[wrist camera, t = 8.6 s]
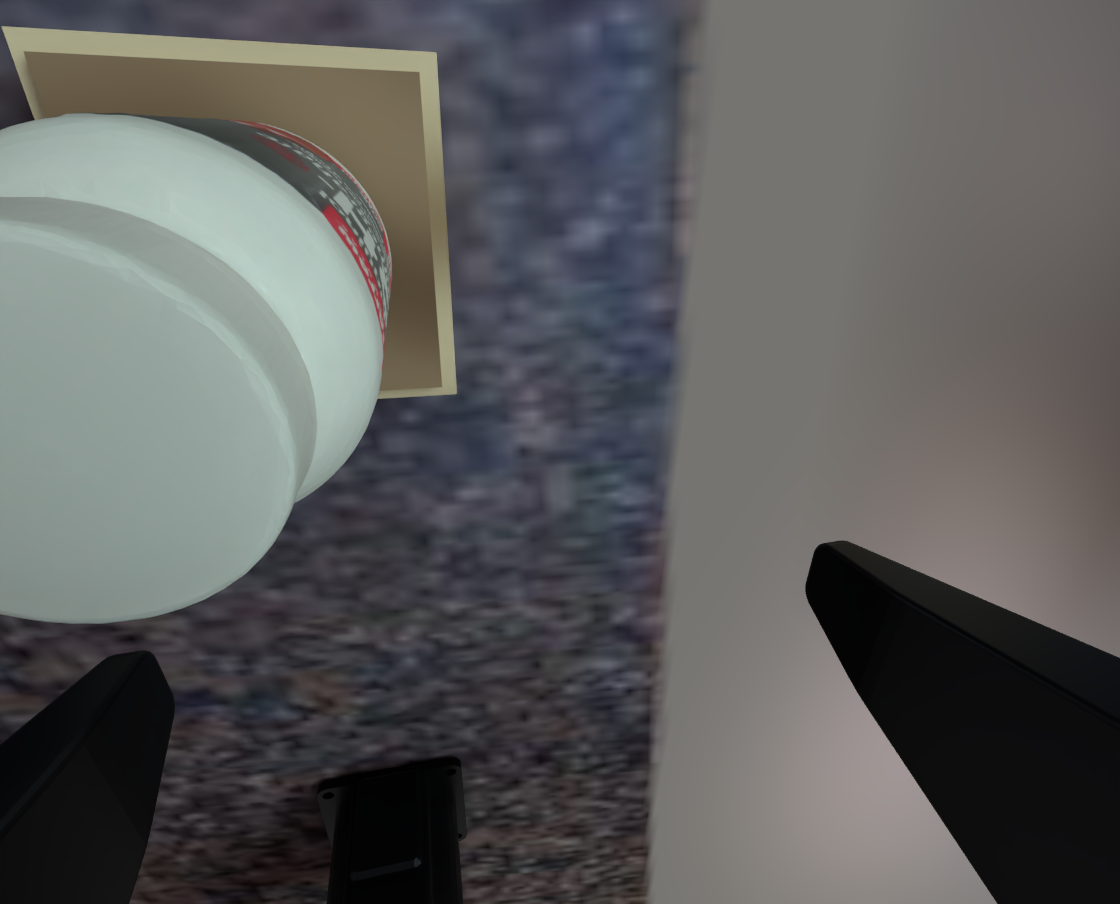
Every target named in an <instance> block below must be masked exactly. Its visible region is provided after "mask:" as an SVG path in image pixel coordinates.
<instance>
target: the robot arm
mask: <svg viewBox="0 0 1120 904" xmlns="http://www.w3.org/2000/svg"><path fill="white" fill-rule="evenodd" d="M805 587H806V588H805V589H806V596H807V599H808V602H809V604H810V606H811V608H812V610H813V612H814V613H815V615H816V617H817V619H818V621H819V623H820V625H821V626H822V628H823V630H824V632H825V634H826V636H827V638H828V640H829V641H830V643H831V645H832V647H833V649H834V651H835V652H836V654H837V656H838V658H839V660H840V662H841V664H842V666H843V667H844V669H845V671H846V673H847V675H848V677H849V678H850V680H851V682H852V684H853V686H854V687H855V689H856V691H857V692H858V694H859V696H860V697H861V699H862V700H863V702H864V704H865V705H866V707H867V708H868V710H869V711H870V713H871V714H872V716H873V717H874V719H875V720H876V722H877V723H878V725H879V726H880V728H881V729H882V731H883V732H884V734H885V735H886V737H887V738H888V740H889V741H890V743H891V744H892V746H893V747H894V749H895V750H896V752H897V753H898V755H899V756H900V758H901V759H902V761H903V762H904V764H905V765H906V767H907V768H908V770H909V771H910V773H911V774H912V776H913V777H914V779H915V781H916V782H917V784H918V785H919V786H920V788H921V789H922V791H923V792H924V794H925V795H926V797H927V798H928V800H929V802H930V803H931V805H932V806H933V808H934V809H935V810H936V812H937V814H938V815H939V817H940V818H941V819H942V821H943V823H944V824H945V826H946V827H947V828H948V830H949V832H950V833H951V835H952V836H953V838H954V839H955V840H956V842H957V843H958V845H959V847H960V848H961V850H962V851H963V853H964V854H965V856H966V857H967V859H968V860H969V862H970V863H971V865H972V866H973V868H974V869H975V871H976V872H977V874H978V875H979V877H980V878H981V880H982V881H983V883H984V884H985V886H986V887H987V889H988V890H989V892H990V893H991V895H992V896H993V898H994V899H995V901H996V902H997V904H1120V658H1119V657H1116V656H1114V655H1112V654H1109V653H1107V652H1105V651H1102V650H1100V649H1098V648H1095V647H1093V646H1091V645H1088V644H1086V643H1084V642H1081V641H1079V640H1077V639H1074V638H1072V637H1070V636H1067V635H1065V634H1063V633H1060V632H1058V631H1056V630H1053V629H1051V628H1049V627H1046V626H1044V625H1042V624H1039V623H1037V622H1035V621H1032V620H1030V619H1028V618H1025V617H1023V616H1021V615H1018V614H1016V613H1014V612H1011V611H1009V610H1007V609H1004V608H1002V607H1000V606H997V605H995V604H993V603H990V602H988V601H986V600H983V599H981V598H979V597H976V596H974V595H972V594H969V593H967V592H965V591H962V590H960V589H958V588H955V587H953V586H951V585H948V584H946V583H944V582H941V581H939V580H937V579H934V578H932V577H930V576H927V575H925V574H923V573H920V572H918V571H916V570H913V569H911V568H909V567H906V566H904V565H902V564H899V563H897V562H895V561H893V560H890V559H888V558H886V557H883V556H881V555H878V554H876V553H874V552H871V551H869V550H867V549H865V548H862V547H860V546H858V545H855V544H853V543H851V542H848V541H835V542H828V543H823V544H820V545H819V546H818V547H817V548H816V549H815V551H814V554H813V558H812V562H811V566H810V569H809V573H808V577H807V581H806V586H805ZM174 713H175V702H174V697H173V694H172V691H171V689H170V687H169V685H168V683H167V681H166V678H165V676H164V674H163V672H162V670H161V668H160V666H159V664H158V661H157V659H156V658H155V656H154V655H153V654H152V653H151V652H149V651H144V650H142V651H135V652H129V653H123V654H116V655H113V656H110V657H108V658H106V659H105V660H103V661H102V662H100V663H99V664H98V665H97V666H96V667H94V668H93V669H92V670H91V671H89V672H88V673H87V674H86V675H85V676H83V677H82V678H81V679H80V680H78V681H77V682H76V683H75V684H74V685H72V686H71V687H70V688H69V689H67V690H66V691H65V692H64V693H63V694H61V695H60V696H59V697H58V698H57V699H55V700H54V701H53V702H52V703H50V704H49V705H48V706H47V707H46V708H44V709H43V710H42V711H41V712H39V713H38V714H37V715H36V716H35V717H33V718H32V719H31V720H30V721H28V722H27V723H26V724H25V725H24V726H22V727H21V728H20V729H19V730H17V731H16V732H15V733H14V734H13V735H11V736H10V737H9V738H8V739H6V740H5V741H4V742H3V743H2V744H0V904H129V902H130V898H131V895H132V892H133V889H134V886H135V883H136V880H137V877H138V873H139V870H140V867H141V864H142V860H143V857H144V853H145V850H146V846H147V842H148V838H149V834H150V830H151V825H152V821H153V816H154V811H155V806H156V801H157V796H158V792H159V787H160V782H161V777H162V772H163V767H164V762H165V758H166V753H167V748H168V743H169V738H170V733H171V728H172V724H173V719H174ZM317 801H318V804H319V807H320V811H321V814H322V818H323V821H324V825H325V828H326V831H327V835H328V838H329V842H330V845H331V849H332V856H331V866H330V876H329V885H328V895H327V904H463V894H462V880H461V866H460V852H459V841H461V840H463V839H465V837H466V836H467V830H466V818H465V806H464V795H463V783H462V771H461V762H460V760H459V759H458V758H446V759H441V760H436V761H430V762H425V763H420V764H414V765H409V766H404V767H398V768H393V769H388V770H383V771H377V772H372V773H367V774H361V775H356V776H351V777H345V778H340V779H335V780H330V781H326V782H323V783H321V784H320V785H319V786H318V791H317Z"/></svg>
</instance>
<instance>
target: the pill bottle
mask: <svg viewBox="0 0 1120 904" xmlns="http://www.w3.org/2000/svg"><path fill="white" fill-rule="evenodd" d="M391 284H392V261H391V252H390V246H389V242H388V237H387V233H386V230H385V228H384V225H383V222H382V219H381V217H380V215H379V213H378V211H377V209H376V207H375V205H374V203H373V202H372V200H371V198H370V197H369V195H368V194H367V192H366V191H365V189H364V188H363V187H362V186H361V184H360V183H359V182H358V181H357V180H356V178H355V177H354V176H353V175H352V174H351V173H350V172H349V171H348V170H347V169H346V168H345V167H344V166H343V165H342V164H341V163H340V162H339V161H338V160H336V159H335V158H334V157H333V156H331V155H330V154H329V153H327V152H326V151H325V150H323V149H321V148H320V147H318V146H317V145H315V144H313V143H312V142H310V141H308V140H306V139H304V138H302V137H300V136H298V135H296V134H293V133H291V132H288V131H286V130H284V129H281V128H277V127H274V126H271V125H267V124H263V123H256V122H251V121H241V120H230V119H229V120H225V119H213V118H209V119H201V118H186V117H164V116H154V115H133V114H126V113H73V114H64V115H61V116H57V117H53V118H45V119H39V120H34V121H30V122H25V123H21V124H17V125H13V126H10V127H7V128H4V129H2V130H0V614H2V615H7V616H12V617H18V618H24V619H30V620H38V621H45V622H57V623H70V624H75V623H93V624H102V623H111V622H120V621H130V620H137V619H144V618H149V617H154V616H158V615H162V614H165V613H168V612H172V611H175V610H179V609H182V608H184V607H187V606H189V605H192V604H194V603H197V602H199V601H202V600H204V599H206V598H208V597H210V596H212V595H213V594H215V593H217V592H219V591H221V590H223V589H224V588H226V587H227V586H229V585H230V584H232V583H233V582H234V581H236V580H237V579H239V578H240V577H242V576H243V575H245V574H246V573H247V572H248V571H249V570H250V569H251V568H252V567H253V566H254V565H255V564H256V563H257V562H258V561H259V560H260V559H261V558H262V557H263V556H264V554H265V553H266V552H267V551H268V550H269V548H270V547H271V546H272V545H273V543H274V542H275V540H276V538H277V537H278V535H279V534H280V532H281V530H282V529H283V527H284V525H285V523H286V521H287V518H288V516H289V514H290V512H291V510H292V507H293V504H294V503H296V502H297V501H299V500H301V499H303V498H304V497H306V496H307V495H309V494H310V493H312V492H313V491H315V490H316V489H317V488H318V487H320V486H321V485H322V484H324V483H325V482H326V481H327V480H328V479H329V478H331V477H332V476H333V475H334V474H335V473H336V472H337V470H338V469H339V468H340V467H341V466H342V465H343V464H344V463H345V462H346V460H347V459H348V458H349V456H350V455H351V454H352V452H353V451H354V449H355V448H356V446H357V445H358V443H359V441H360V440H361V438H362V436H363V434H364V432H365V431H366V429H367V427H368V424H369V421H370V418H371V415H372V413H373V410H374V407H375V404H376V401H377V398H378V396H379V391H380V384H381V377H382V369H383V362H384V347H385V338H386V329H387V317H388V309H389V301H390V297H391Z"/></svg>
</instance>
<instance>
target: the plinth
mask: <svg viewBox="0 0 1120 904" xmlns="http://www.w3.org/2000/svg"><path fill="white" fill-rule="evenodd" d="M2 29H3V32H4V35H5V37H6V40H7V43H8V46H9V49H10V52H11V54H12V57H13V60H14V63H15V66H16V69H17V71H18V74H19V77H20V80H21V83H22V86H23V88H24V91H25V94H26V97H27V100H28V103H29V105H30V108H31V111H32V114H33V117H34V120H39V119H45V118H53V117H57V116H61V115H64V114H73V113H126V114H133V115H154V116H164V117H186V118H201V119H209V118H213V119H225V120H229V119H230V120H241V121H251V122H256V123H263V124H267V125H271V126H274V127H277V128H281V129H284V130H286V131H288V132H291V133H293V134H296V135H298V136H300V137H302V138H304V139H306V140H308V141H310V142H312V143H313V144H315V145H317V146H318V147H320V148H321V149H323V150H325V151H326V152H327V153H329V154H330V155H331V156H333V157H334V158H335V159H336V160H338V161H339V162H340V163H341V164H342V165H343V166H344V167H345V168H346V169H347V170H348V171H349V172H350V173H351V174H352V175H353V176H354V177H355V178H356V180H357V181H358V182H359V183H360V184H361V186H362V187H363V188H364V189H365V191H366V192H367V194H368V195H369V197H370V198H371V200H372V202H373V203H374V205H375V207H376V209H377V211H378V213H379V215H380V217H381V219H382V222H383V225H384V228H385V230H386V233H387V237H388V242H389V246H390V252H391V261H392V284H391V297H390V301H389V309H388V317H387V329H386V338H385V347H384V362H383V369H382V377H381V384H380V391H379V396H378V398H377V399H383V398H399V397H416V396H432V395H449V394H457V388H456V371H455V354H454V338H453V321H452V304H451V288H450V271H449V254H448V238H447V221H446V204H445V188H444V171H443V154H442V137H441V121H440V104H439V87H438V71H437V54H436V52H421V51H404V50H387V49H371V48H354V47H337V46H321V45H304V44H287V43H271V42H254V41H237V40H221V39H204V38H187V37H171V36H154V35H137V34H121V33H104V32H87V31H71V30H54V29H37V28H21V27H4V26H2Z"/></svg>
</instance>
